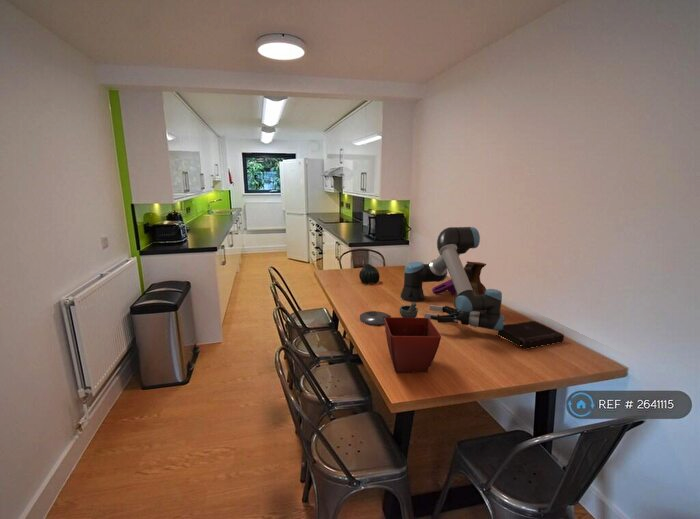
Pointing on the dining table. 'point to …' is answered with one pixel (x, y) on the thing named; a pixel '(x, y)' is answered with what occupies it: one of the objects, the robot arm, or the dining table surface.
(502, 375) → the dining table surface
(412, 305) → the mortar and pestle
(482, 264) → the ceramic pitcher
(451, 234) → the robot arm
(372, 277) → the squash
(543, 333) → the diary
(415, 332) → the plant pot
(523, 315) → the dining table surface
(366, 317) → the disc
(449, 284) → the mounting bracket
